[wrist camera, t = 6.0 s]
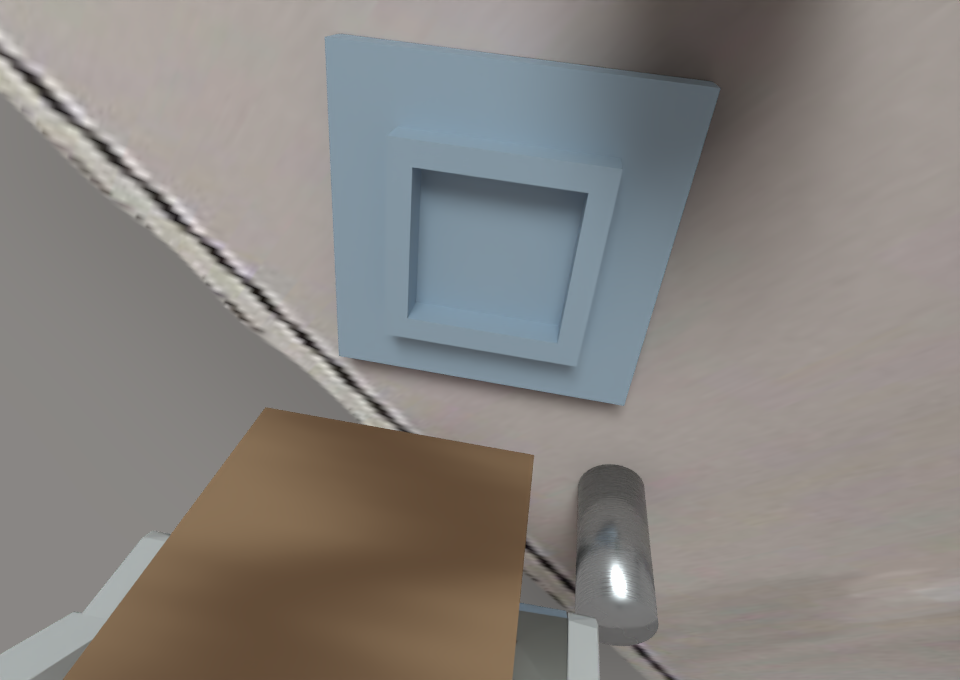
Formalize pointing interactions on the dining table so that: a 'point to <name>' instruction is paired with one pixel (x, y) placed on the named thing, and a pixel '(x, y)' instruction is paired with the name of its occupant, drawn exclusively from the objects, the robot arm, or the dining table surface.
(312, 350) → the dining table surface
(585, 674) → the robot arm
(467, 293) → the base
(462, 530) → the block
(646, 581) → the peg
